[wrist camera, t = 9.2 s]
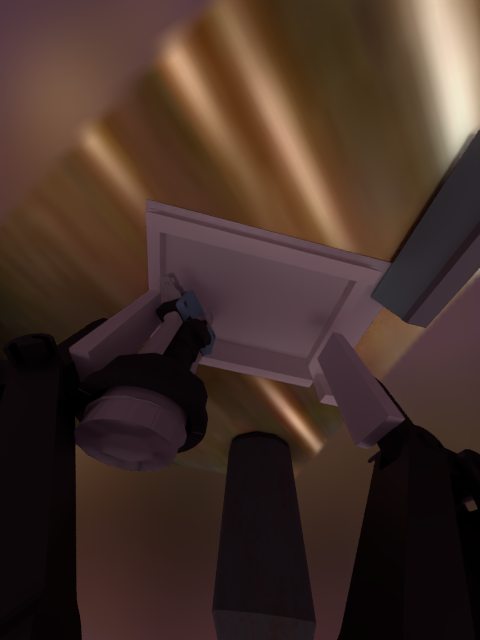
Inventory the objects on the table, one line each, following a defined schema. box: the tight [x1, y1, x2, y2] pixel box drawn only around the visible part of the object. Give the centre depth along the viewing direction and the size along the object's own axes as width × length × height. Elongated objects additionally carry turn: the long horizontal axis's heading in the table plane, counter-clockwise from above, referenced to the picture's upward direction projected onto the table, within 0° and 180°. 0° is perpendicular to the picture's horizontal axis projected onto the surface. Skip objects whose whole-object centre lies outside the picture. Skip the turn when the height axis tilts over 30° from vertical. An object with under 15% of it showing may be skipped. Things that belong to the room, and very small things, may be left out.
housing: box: [146, 199, 393, 406], centre depth 17 cm, size 22×14×3 cm
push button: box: [71, 272, 216, 472], centre depth 11 cm, size 7×5×10 cm
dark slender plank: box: [371, 130, 480, 328], centre depth 11 cm, size 1×11×4 cm, turn 167°
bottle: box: [212, 432, 316, 640], centre depth 18 cm, size 10×10×30 cm
